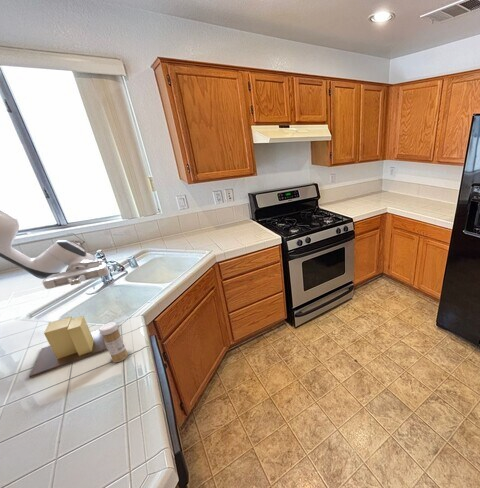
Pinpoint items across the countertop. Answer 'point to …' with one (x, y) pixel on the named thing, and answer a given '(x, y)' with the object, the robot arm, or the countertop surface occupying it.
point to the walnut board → (50, 362)
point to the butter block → (60, 338)
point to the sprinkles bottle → (113, 341)
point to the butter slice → (80, 335)
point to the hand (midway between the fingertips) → (75, 282)
